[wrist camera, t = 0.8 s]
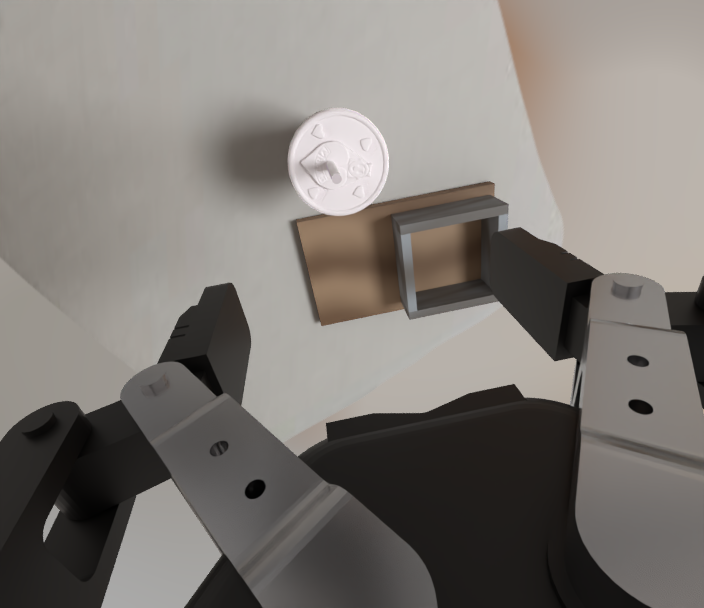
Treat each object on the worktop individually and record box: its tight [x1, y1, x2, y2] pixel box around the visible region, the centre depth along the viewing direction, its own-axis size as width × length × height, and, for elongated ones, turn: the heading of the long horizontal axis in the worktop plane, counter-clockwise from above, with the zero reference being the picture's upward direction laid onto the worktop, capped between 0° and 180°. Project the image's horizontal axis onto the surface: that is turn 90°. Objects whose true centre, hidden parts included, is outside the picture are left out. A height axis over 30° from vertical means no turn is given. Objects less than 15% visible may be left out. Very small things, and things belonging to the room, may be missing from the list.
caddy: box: [297, 181, 509, 326], centre depth 36 cm, size 11×18×4 cm, turn 99°
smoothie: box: [287, 108, 389, 216], centre depth 26 cm, size 6×6×14 cm
